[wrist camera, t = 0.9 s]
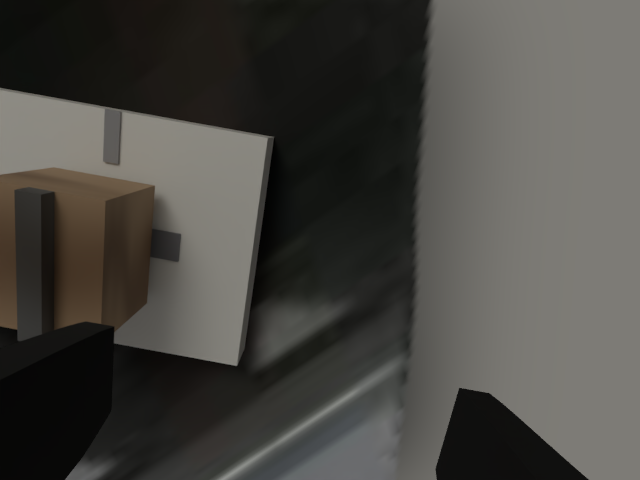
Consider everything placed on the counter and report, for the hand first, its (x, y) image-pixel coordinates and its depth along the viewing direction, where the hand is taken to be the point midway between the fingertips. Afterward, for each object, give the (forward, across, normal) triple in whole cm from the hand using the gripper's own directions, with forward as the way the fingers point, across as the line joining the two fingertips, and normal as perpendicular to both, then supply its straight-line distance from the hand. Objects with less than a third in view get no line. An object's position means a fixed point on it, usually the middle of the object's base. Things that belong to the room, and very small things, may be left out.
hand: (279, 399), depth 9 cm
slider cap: (+8, +9, 0) cm, 12 cm away
